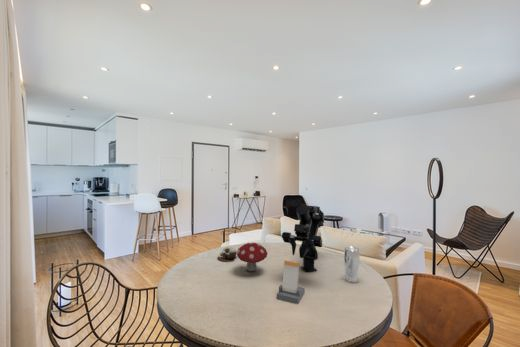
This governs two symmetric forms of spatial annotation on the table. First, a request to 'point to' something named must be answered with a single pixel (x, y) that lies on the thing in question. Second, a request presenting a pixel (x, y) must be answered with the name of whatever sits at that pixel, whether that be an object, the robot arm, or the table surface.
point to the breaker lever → (290, 277)
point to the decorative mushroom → (251, 254)
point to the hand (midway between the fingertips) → (298, 255)
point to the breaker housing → (291, 295)
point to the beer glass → (351, 264)
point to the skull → (228, 254)
